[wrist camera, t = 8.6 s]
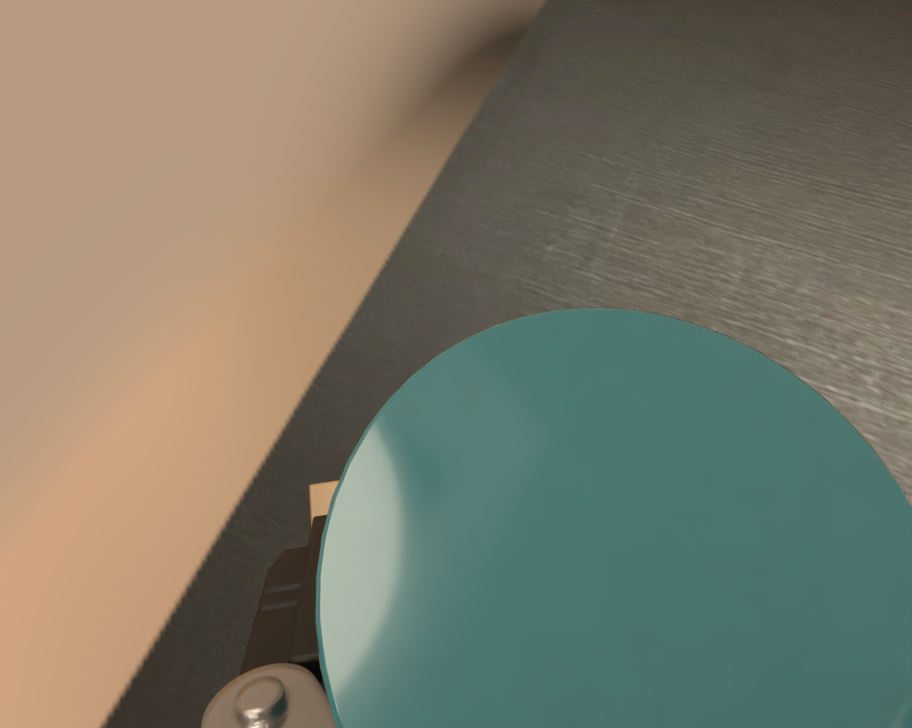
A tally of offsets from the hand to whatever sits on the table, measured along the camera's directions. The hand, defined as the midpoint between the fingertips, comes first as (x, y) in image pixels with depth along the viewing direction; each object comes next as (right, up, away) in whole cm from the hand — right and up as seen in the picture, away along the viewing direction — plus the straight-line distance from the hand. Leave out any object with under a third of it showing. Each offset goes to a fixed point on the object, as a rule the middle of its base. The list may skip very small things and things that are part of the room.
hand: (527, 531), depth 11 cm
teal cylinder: (0, -3, +2) cm, 4 cm away
